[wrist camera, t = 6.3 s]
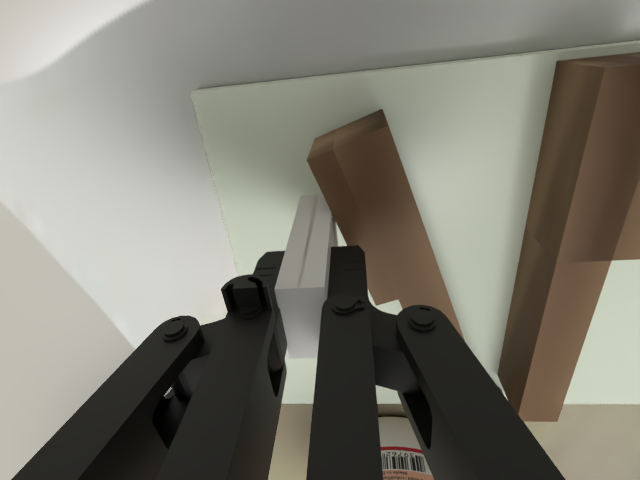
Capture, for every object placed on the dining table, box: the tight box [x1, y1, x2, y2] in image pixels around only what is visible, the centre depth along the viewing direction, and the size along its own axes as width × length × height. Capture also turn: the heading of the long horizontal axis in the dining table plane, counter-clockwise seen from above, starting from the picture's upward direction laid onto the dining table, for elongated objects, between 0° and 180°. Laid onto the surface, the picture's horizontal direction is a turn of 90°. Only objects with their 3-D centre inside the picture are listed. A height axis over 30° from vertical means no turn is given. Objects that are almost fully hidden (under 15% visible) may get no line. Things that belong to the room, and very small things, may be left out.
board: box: [190, 40, 640, 404], centre depth 19 cm, size 28×20×1 cm
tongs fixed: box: [497, 52, 640, 422], centre depth 16 cm, size 4×20×4 cm, turn 6°
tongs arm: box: [307, 109, 465, 341], centre depth 17 cm, size 3×17×3 cm, turn 25°
